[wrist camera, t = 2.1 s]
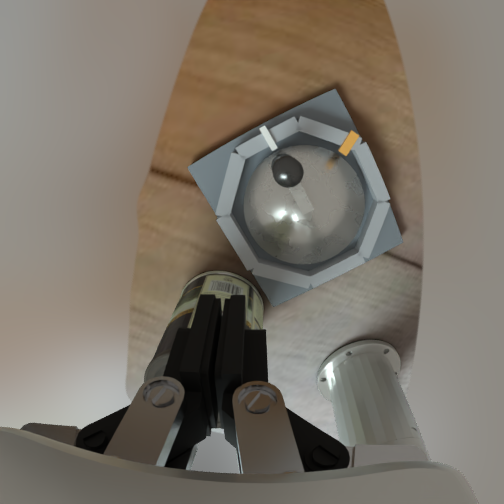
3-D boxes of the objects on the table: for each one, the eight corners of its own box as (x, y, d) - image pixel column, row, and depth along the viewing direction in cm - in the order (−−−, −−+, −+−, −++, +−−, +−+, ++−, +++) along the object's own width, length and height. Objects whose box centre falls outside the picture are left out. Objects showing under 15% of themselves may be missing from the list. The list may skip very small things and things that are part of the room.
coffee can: (194, 345, 39) (169, 429, 26) (169, 277, 35) (124, 354, 22) (271, 336, 38) (272, 425, 25) (255, 263, 34) (250, 344, 21)
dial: (377, 228, 31) (400, 249, 25) (279, 278, 33) (281, 308, 27) (329, 124, 27) (346, 122, 21) (221, 181, 29) (211, 192, 24)
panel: (399, 238, 32) (409, 247, 30) (273, 301, 36) (273, 315, 33) (332, 90, 27) (339, 86, 24) (190, 165, 30) (182, 169, 28)
